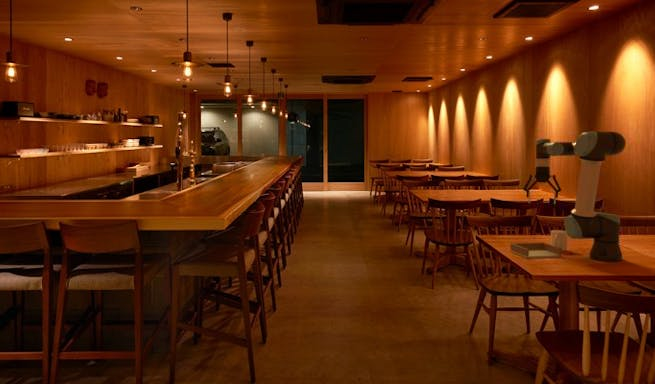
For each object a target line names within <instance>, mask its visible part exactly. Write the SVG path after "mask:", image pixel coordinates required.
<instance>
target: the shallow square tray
mask: <svg viewBox="0 0 655 384" xmlns="http://www.w3.org/2000/svg"><path fill="white" fill-rule="evenodd" d="M509 248H510V252H511V253H513V254H515V255H518V256H521V257H523V258H525V259H541V258H542V259H546V258H548V259H549V258H562V252H563V251H562V248H559V247H556V246H553V245H551V243H546V242H540V241H538V242H517V243H516V242H515V243H514V242H512V243H510V247H509Z"/></svg>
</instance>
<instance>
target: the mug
mask: <svg viewBox="0 0 655 384" xmlns="http://www.w3.org/2000/svg"><path fill="white" fill-rule="evenodd" d="M550 232H551V233H550V245H553V246H556V247H559V248H562V252H566V251H567V250H568V234H567V233H566V230H561V229H560V230H557V229H554V230H550Z"/></svg>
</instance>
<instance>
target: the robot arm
mask: <svg viewBox="0 0 655 384" xmlns="http://www.w3.org/2000/svg"><path fill="white" fill-rule="evenodd" d="M626 143H627V142H626V139H625V137H624V136H623V135H622V134H621V133H620V132H616V131H596V130H595V131H592V130H591V131H585V132H582V133H581V134H580V135H579V136H578V137H577V139H576V141H572V142H571V141H565V142H564V141H551V139H550V138H538V139H536V143H535V175H534V174H530V175H529V178H528V180H527V181H526V184H525V186H524V187H523V189H522V190H523V191H525V193H526V198H528V204H530V203H531V190H532V189H533V187H535V186H536V184H537V183H540V184H541V183H543V184H544V183H545V184H546V183H547V184H548V185H549V186H550V187H551V188H552V189H553V191H554V192H553V204H554V205H556V203H557V202H556V201H557V200H556V199H558V198H559V192H562V188H561V186H560V184H559V182H558V179H556V174H552V175H551V174H550V173H551V172H550V169H551V167H550V165H551V157H567V156H568V157H569V156H570V157H571V156H572V157H575V156H576V157H578V159H579V160H580V161H581V166H580V171H579V172H580V173H579V178H578V185H577V191H576V197H575V198H576V200H575V204H574V205H575V206H574V208H573V209H572V210H571V211H570V215H567V216H565V218H564V221H563V224H564V231H566V233H567V234H568V235H567V237H569V238H571V239H573V240H575V239H576V240H587V239H589V240H590V239H593V242H592V246H591V248H590V251H589V253H588V258H590V259H592V260H596V261H602V262H620V261H623V254H622V250H621V247H620V232H621V231H620V230H621V227H620V225H621V218H620V216H619V215H617V214H613V213H608V212H607V213H606V212H599V211H595V204H596V199H597V190H598V184H599V178H600V172H601V165H602V163H604V162H606V157H607V156H609V157H610V156H616V155H619V154H621V153H622V152H624V150H625V148H626ZM534 178H535V181H534V182H533V183H531V181H532V179H534ZM550 179H553V181H554V183H555V185H553V183H552V182H551V181H550ZM530 183H531V185H530ZM529 185H530V186H529ZM555 186H556V187H557V188H556V187H555Z"/></svg>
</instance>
